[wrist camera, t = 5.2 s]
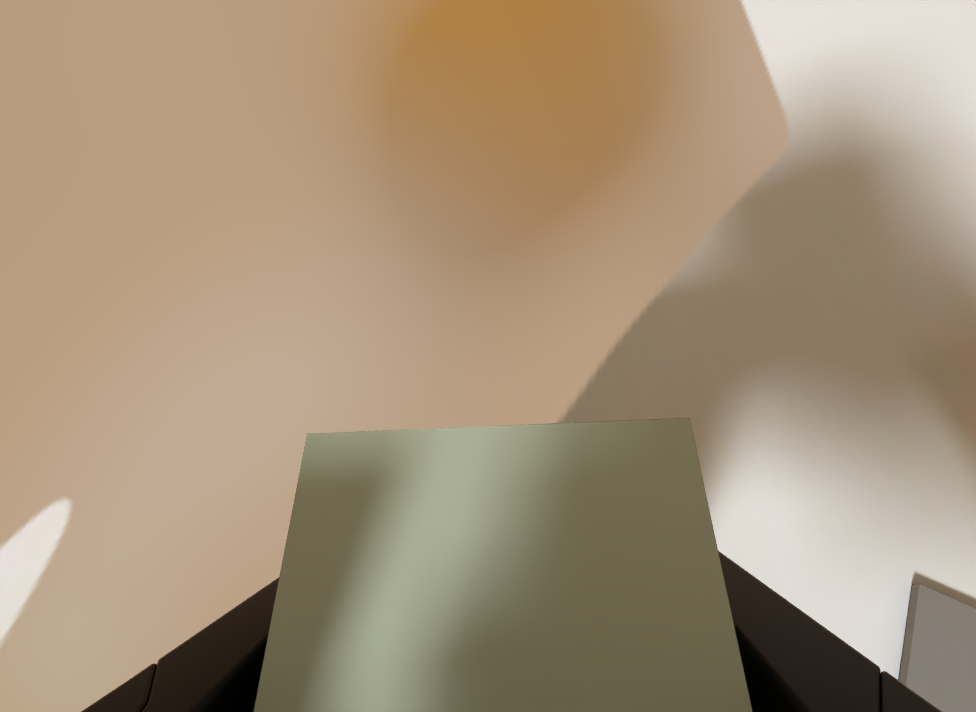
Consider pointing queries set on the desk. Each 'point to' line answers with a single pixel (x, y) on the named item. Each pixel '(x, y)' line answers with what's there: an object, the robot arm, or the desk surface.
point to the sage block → (503, 575)
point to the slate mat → (940, 650)
